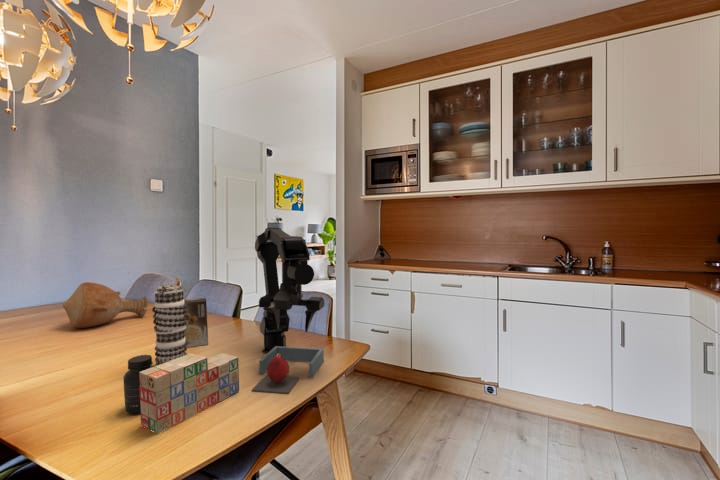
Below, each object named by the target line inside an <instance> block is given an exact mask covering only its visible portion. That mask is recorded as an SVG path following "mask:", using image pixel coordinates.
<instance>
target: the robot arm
mask: <svg viewBox="0 0 720 480" xmlns="http://www.w3.org/2000/svg"><path fill="white" fill-rule="evenodd" d="M254 249H255V252H256V255H257V258H258V259H259V261H260V262H261V264H262V267H263V268H262V269H263V276H264V279H263V280H264V288H265V295H262V296H261V297H260V298H259V300H258V307H259V308H262V309H263V312H262V316H263V317H262V318H261V322H260V324H259V330H260V333H261V334H262V335H263V344H264V345H263V349H262V350H261V352H262V353H268V352H270V351H271V350H272V349H273V348H274V347H275V346H281V347H287V336H286V335H285V333H288V332H289V329H290V320H291V318H290V316H289V314H288V311H289V310H291V309H292V308H293V306H296V307H297V306H298V307H305V309H306V310H305V311H304V314H305V325H304V330H305V333H307V332H308V331H309V328H310V326H311V323H312V320H313V318H314V315H315V314H316V313H317V312H318V311H321V310H322V309H323V308H324V307H325V299H324V298H323V297H322V296H311V297H309V298H308V299H304V298H303V297H304V294H303V293H302V287H303V286H306V285H308V284H311V282H312V281H313V280H314V277H315V271H314V268H313V267H312V266H311V265H310V264H308V263H309V262H308V261H311V258H310V256H311V254H310V251H309V248H308V245H307V244H306V241H305V240H304V238H303V236H299V235H290V234H288V233H287V232H285V231H284V230H282V228H280V227H277V226H276V227H265V229H264V232H262V233H260V234H259V235H258V236H257V237H256V240H255V243H254ZM279 257H280V259H281V261H280V262H281V283H279V276H278V275H279V274H278V266H277V264H278V263H277V261H278V260H277V259H278V258H279ZM279 284H280V285H279ZM302 285H303V286H302Z"/></svg>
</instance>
